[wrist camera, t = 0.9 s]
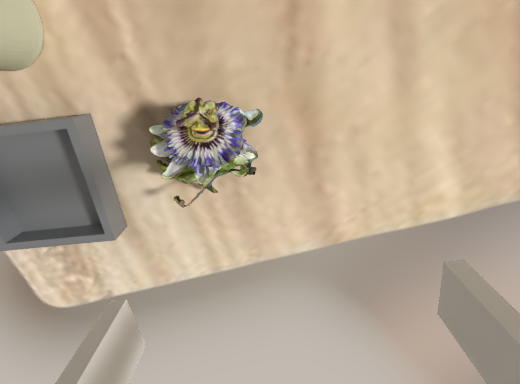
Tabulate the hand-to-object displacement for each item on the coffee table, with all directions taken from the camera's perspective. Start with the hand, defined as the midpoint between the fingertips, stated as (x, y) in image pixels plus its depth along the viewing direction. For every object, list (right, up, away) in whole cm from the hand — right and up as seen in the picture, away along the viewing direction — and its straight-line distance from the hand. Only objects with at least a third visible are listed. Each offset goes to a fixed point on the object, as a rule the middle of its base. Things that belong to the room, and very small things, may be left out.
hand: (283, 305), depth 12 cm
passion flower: (-7, +11, +23) cm, 26 cm away
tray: (-27, +6, +25) cm, 37 cm away
